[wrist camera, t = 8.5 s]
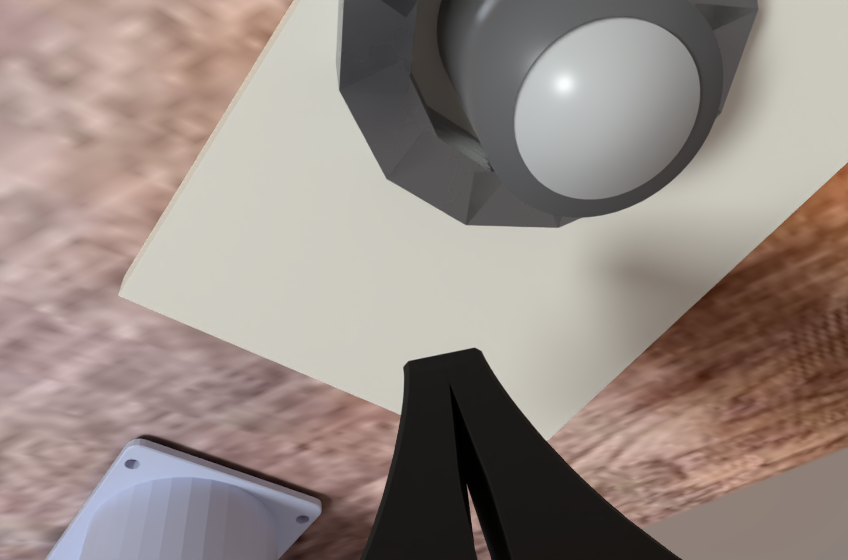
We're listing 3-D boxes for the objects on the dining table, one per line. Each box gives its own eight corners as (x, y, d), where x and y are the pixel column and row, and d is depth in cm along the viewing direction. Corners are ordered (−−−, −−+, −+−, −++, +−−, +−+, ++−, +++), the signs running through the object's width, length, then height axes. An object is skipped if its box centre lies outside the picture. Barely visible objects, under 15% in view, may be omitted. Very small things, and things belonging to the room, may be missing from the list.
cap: (535, 147, 21) (606, 261, 16) (398, 49, 19) (434, 148, 14) (660, 3, 19) (780, 85, 15) (524, -124, 17) (612, -75, 12)
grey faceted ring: (542, 243, 23) (561, 281, 22) (264, 74, 19) (260, 105, 17) (790, -28, 19) (834, -6, 18) (507, -316, 15) (532, -321, 13)
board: (514, 445, 30) (520, 465, 29) (124, 276, 23) (118, 295, 22) (957, 26, 22) (982, 37, 21) (559, -435, 15) (574, -444, 14)
